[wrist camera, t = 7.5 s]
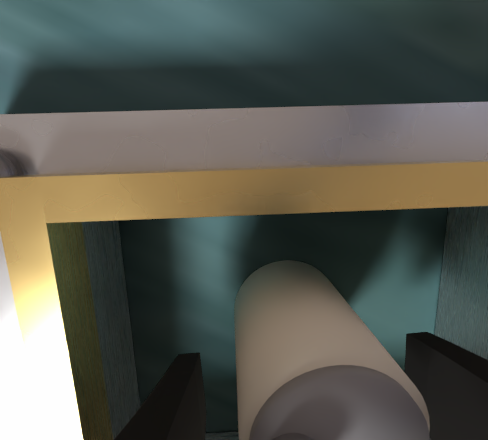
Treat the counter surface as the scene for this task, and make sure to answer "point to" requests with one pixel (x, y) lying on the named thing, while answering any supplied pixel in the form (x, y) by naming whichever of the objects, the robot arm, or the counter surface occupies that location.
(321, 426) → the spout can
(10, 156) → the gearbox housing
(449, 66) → the counter surface
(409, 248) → the counter surface
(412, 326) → the counter surface
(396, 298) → the counter surface
